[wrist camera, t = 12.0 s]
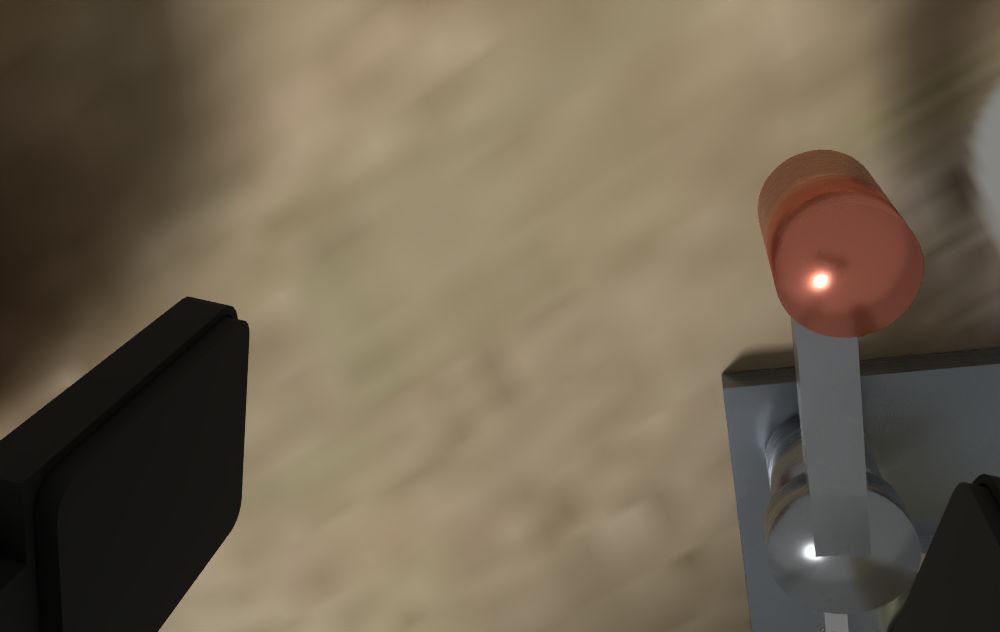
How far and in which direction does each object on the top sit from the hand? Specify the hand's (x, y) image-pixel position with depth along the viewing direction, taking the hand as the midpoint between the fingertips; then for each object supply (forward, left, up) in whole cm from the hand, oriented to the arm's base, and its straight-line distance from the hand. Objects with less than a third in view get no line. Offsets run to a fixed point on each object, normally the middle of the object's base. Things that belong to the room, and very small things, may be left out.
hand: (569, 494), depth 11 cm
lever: (-7, -5, -17) cm, 19 cm away
